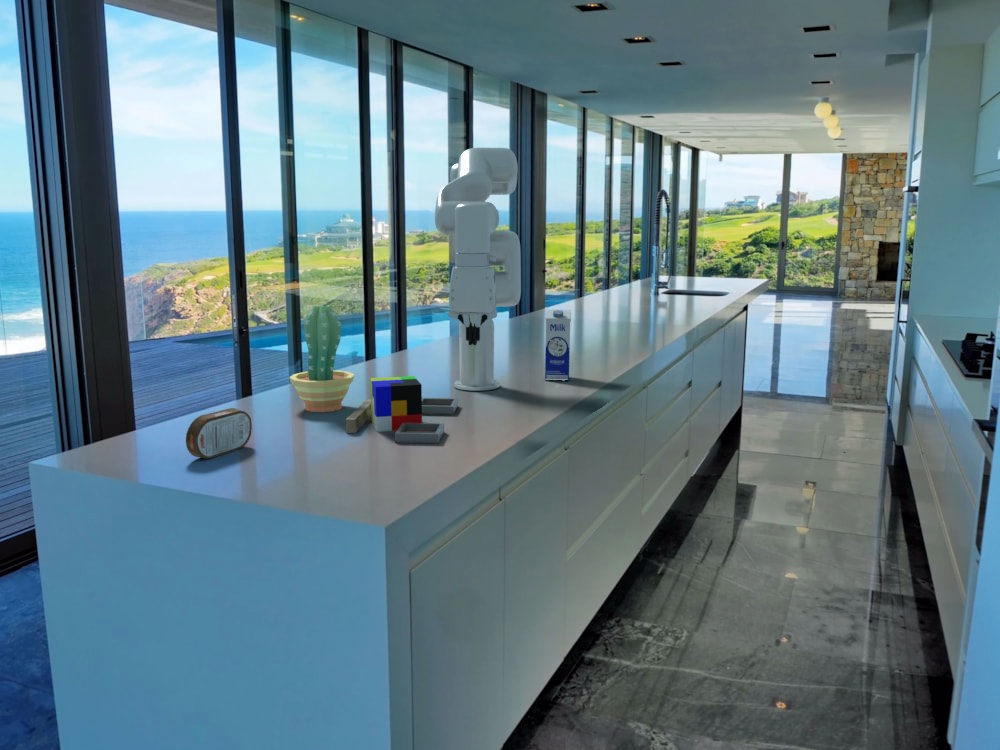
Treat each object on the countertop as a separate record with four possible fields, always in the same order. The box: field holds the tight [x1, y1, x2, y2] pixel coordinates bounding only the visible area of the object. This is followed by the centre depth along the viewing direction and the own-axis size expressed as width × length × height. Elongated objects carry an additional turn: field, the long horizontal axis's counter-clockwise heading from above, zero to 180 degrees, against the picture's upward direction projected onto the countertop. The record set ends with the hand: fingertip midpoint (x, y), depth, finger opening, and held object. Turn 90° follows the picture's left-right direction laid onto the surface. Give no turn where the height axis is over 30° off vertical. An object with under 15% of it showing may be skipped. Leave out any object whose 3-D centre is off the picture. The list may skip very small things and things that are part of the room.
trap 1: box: [394, 422, 445, 445], centre depth 172 cm, size 9×9×2 cm
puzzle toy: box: [369, 375, 423, 433], centre depth 182 cm, size 10×10×10 cm
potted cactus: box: [288, 304, 355, 413], centre depth 197 cm, size 15×15×25 cm
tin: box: [185, 407, 253, 460], centre depth 160 cm, size 15×3×8 cm, turn 152°
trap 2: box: [422, 397, 459, 416], centre depth 197 cm, size 9×9×2 cm
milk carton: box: [544, 308, 572, 380], centre depth 234 cm, size 7×7×20 cm
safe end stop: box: [345, 398, 371, 434], centre depth 185 cm, size 20×2×3 cm, turn 176°
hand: (472, 343), depth 181 cm, fingers closed
